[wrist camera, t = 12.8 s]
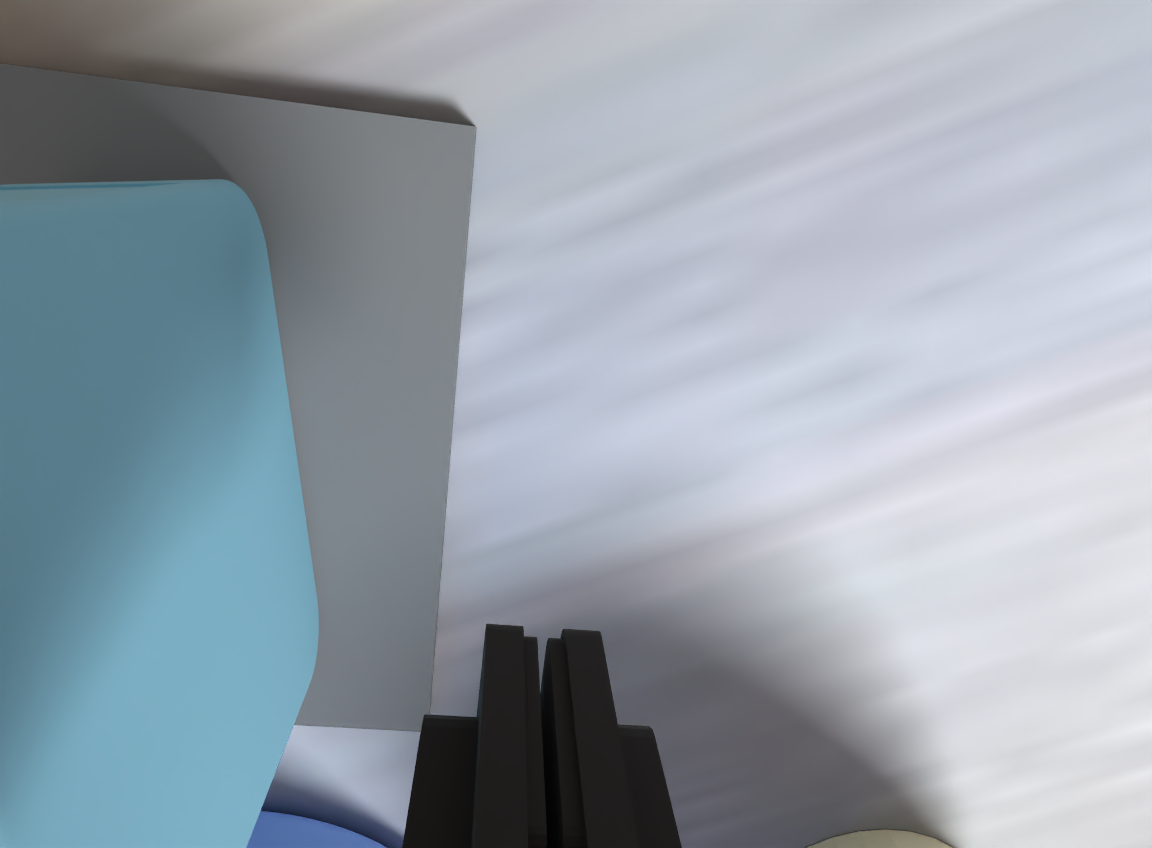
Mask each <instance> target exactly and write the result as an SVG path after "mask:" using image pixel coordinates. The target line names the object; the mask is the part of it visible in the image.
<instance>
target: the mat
mask: <svg viewBox="0 0 1152 848" xmlns="http://www.w3.org/2000/svg"><path fill="white" fill-rule="evenodd" d="M475 140H476V127H475V126H468V125H461V124H453V123H446V122H438V121H431V120H423V119H416V118H408V117H401V116H393V115H386V114H378V113H371V112H363V111H356V110H348V109H341V108H333V107H326V106H318V105H311V104H303V103H296V102H288V101H281V100H273V99H266V98H258V97H251V96H243V95H236V94H228V93H221V92H213V91H205V90H198V89H190V88H183V87H175V86H168V85H160V84H153V83H145V82H138V81H130V80H123V79H115V78H108V77H100V76H93V75H85V74H78V73H70V72H63V71H55V70H48V69H40V68H33V67H25V66H18V65H10V64H3V63H0V185H6V184H39V183H81V182H123V181H165V180H207V179H223V180H229V181H231V182H233V183H235V184H237V185H238V186H239V187H240V188H241V189H242V190H243V191H244V192H245V193H246V194H247V196H248V197H249V199H250V200H251V202H252V204H253V206H254V208H255V210H256V212H257V215H258V217H259V220H260V223H261V226H262V230H263V234H264V237H265V242H266V247H267V253H268V259H269V266H270V273H271V280H272V287H273V294H274V301H275V308H276V315H277V321H278V328H279V335H280V342H281V349H282V356H283V363H284V370H285V377H286V384H287V391H288V398H289V405H290V412H291V419H292V426H293V433H294V440H295V447H296V454H297V461H298V467H299V474H300V481H301V488H302V495H303V502H304V509H305V516H306V523H307V530H308V537H309V544H310V551H311V558H312V565H313V572H314V579H315V586H316V593H317V600H318V611H319V636H318V649H317V657H316V663H315V667H314V672H313V675H312V679H311V682H310V684H309V687H308V689H307V692H306V695H305V697H304V700H303V702H302V705H301V707H300V710H299V713H298V715H297V718H296V720H295V723H294V725H305V726H324V727H343V728H362V729H380V730H399V731H418V732H421V728H422V722H423V717H424V714H425V715H430V704H431V691H432V679H433V666H434V654H435V641H436V628H437V616H438V603H439V591H440V578H441V566H442V553H443V541H444V528H445V516H446V503H447V491H448V478H449V466H450V453H451V440H452V428H453V415H454V403H455V390H456V378H457V365H458V353H459V340H460V328H461V315H462V303H463V290H464V278H465V265H466V252H467V240H468V227H469V215H470V202H471V190H472V177H473V165H474V152H475Z"/></svg>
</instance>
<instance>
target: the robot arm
mask: <svg viewBox="0 0 1152 848" xmlns="http://www.w3.org/2000/svg"><path fill="white" fill-rule="evenodd" d="M402 848H682V847H681V843H680V839H679V835H678V830H677V826H676V822H675V818H674V814H673V810H672V806H671V801H670V797H669V793H668V789H667V785H666V781H665V777H664V772H663V768H662V764H661V760H660V756H659V752H658V748H657V744H656V739H655V736H654V733H653V730H652V729H651V728H650V727H649V726H631V725H618V724H617V718H616V713H615V707H614V702H613V697H612V691H611V686H610V680H609V675H608V669H607V664H606V658H605V653H604V647H603V642H602V636H601V633H600V632H599V631H588V630H573V629H563V630H562V634H561V639H556V638H548V640H547V646H546V653H545V661H544V668H543V676H542V684H541V692H540V683H539V662H538V642H537V637H525V636H524V629H523V626H512V625H497V624H486V631H485V641H484V650H483V660H482V670H481V680H480V690H479V699H478V709H477V717H462V716H443V715H425V714H424V717H423V722H422V728H421V734H420V740H419V747H418V753H417V759H416V765H415V772H414V778H413V784H412V790H411V797H410V803H409V809H408V816H407V822H406V828H405V834H404V841H403V847H402Z"/></svg>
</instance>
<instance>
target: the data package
mask: <svg viewBox="0 0 1152 848" xmlns="http://www.w3.org/2000/svg"><path fill="white" fill-rule="evenodd" d="M318 636H319V611H318V600H317V593H316V586H315V579H314V572H313V565H312V558H311V551H310V544H309V537H308V530H307V523H306V516H305V509H304V502H303V495H302V488H301V481H300V474H299V467H298V461H297V454H296V447H295V440H294V433H293V426H292V419H291V412H290V405H289V398H288V391H287V384H286V377H285V370H284V363H283V356H282V349H281V342H280V335H279V328H278V321H277V315H276V308H275V301H274V294H273V287H272V280H271V273H270V266H269V259H268V253H267V247H266V242H265V237H264V234H263V230H262V226H261V223H260V220H259V217H258V215H257V212H256V210H255V208H254V206H253V204H252V202H251V200H250V199H249V197H248V196H247V194H246V193H245V192H244V191H243V190H242V189H241V188H240V187H239V186H238V185H237V184H235V183H233V182H231V181H229V180H223V179H207V180H165V181H123V182H81V183H39V184H6V185H0V848H246V847H247V844H248V842H249V839H250V837H251V834H252V832H253V829H254V826H255V824H256V821H257V819H258V816H259V813H260V811H261V808H262V806H263V803H264V801H265V798H266V795H267V793H268V790H269V788H270V785H271V782H272V780H273V777H274V775H275V772H276V770H277V767H278V764H279V762H280V759H281V757H282V754H283V751H284V749H285V746H286V744H287V741H288V739H289V736H290V733H291V731H292V728H293V726H294V723H295V720H296V718H297V715H298V713H299V710H300V707H301V705H302V702H303V700H304V697H305V695H306V692H307V689H308V687H309V684H310V682H311V679H312V675H313V672H314V667H315V663H316V657H317V649H318Z"/></svg>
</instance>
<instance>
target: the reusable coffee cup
mask: <svg viewBox="0 0 1152 848" xmlns="http://www.w3.org/2000/svg"><path fill="white" fill-rule="evenodd" d="M807 848H953V847H951V846H949V845H947V844H945V843H943V842H941V841H939V840H937V839H935V838H932V837H929V836H925V835H921V834H918V833H914V832H909V831H898V830H887V829H885V830H871V831H858V832H854V833H850V834H845V835H841V836H836V837H832V838H830V839H827V840H825V841H822V842H819V843H817V844H814V845H812V846H809V847H807Z"/></svg>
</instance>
